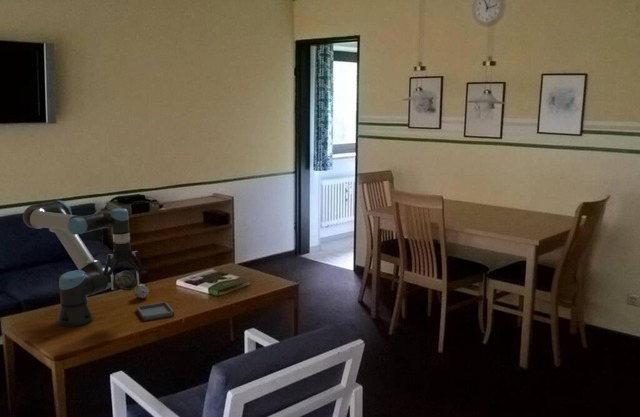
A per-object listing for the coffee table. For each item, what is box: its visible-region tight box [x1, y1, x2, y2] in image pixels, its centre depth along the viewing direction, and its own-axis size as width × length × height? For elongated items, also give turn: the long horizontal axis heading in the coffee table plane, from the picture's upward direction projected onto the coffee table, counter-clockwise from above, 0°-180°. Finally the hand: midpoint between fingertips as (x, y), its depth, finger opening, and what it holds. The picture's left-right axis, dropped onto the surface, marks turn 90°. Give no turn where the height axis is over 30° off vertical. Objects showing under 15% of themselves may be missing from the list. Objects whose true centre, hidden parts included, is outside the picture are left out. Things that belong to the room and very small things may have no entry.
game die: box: [133, 281, 152, 301], centre depth 319 cm, size 9×8×10 cm
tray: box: [136, 301, 175, 322], centre depth 298 cm, size 15×16×2 cm
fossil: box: [113, 270, 137, 292], centre depth 285 cm, size 11×9×10 cm
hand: (125, 287), depth 286 cm, fingers closed on fossil, 11 cm apart
